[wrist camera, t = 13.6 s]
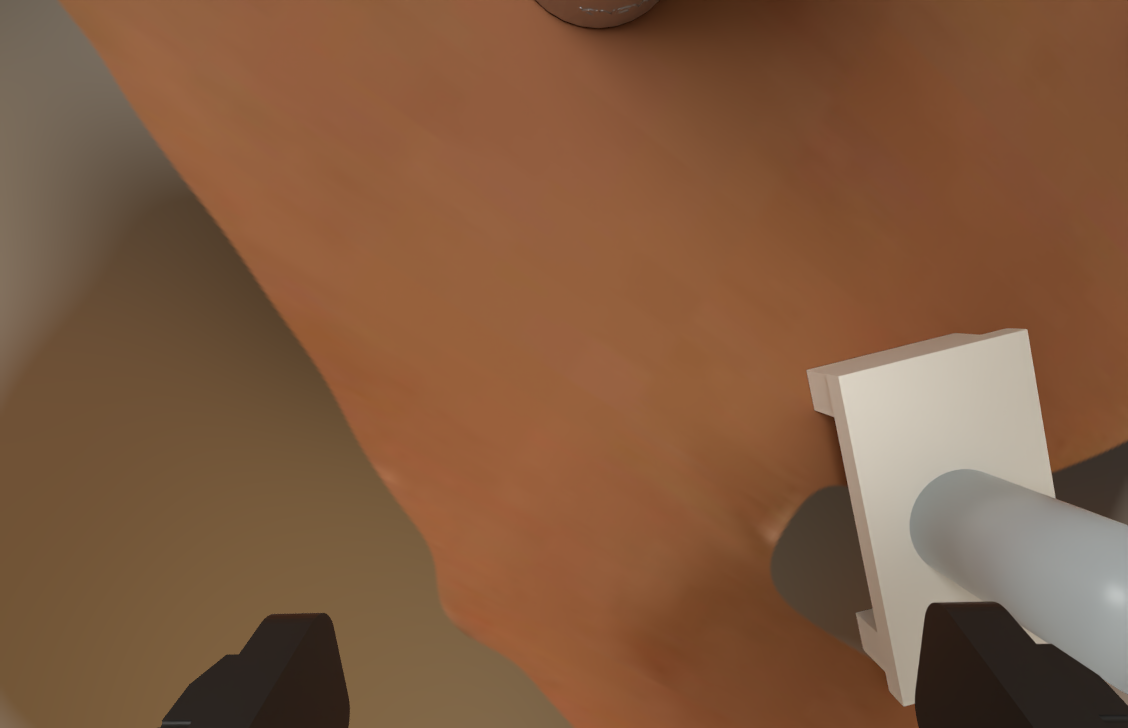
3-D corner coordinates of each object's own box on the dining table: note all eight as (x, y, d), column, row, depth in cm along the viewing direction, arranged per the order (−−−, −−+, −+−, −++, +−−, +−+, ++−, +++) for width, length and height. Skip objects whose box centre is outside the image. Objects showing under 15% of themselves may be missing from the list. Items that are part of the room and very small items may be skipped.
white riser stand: (797, 367, 38) (838, 376, 33) (961, 325, 38) (1027, 329, 33) (856, 656, 40) (903, 706, 35) (1013, 614, 40) (1082, 658, 35)
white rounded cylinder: (901, 482, 34) (1078, 567, 23) (1006, 458, 34) (1232, 530, 23) (919, 585, 34) (1100, 716, 23) (1022, 561, 34) (1250, 680, 24)
